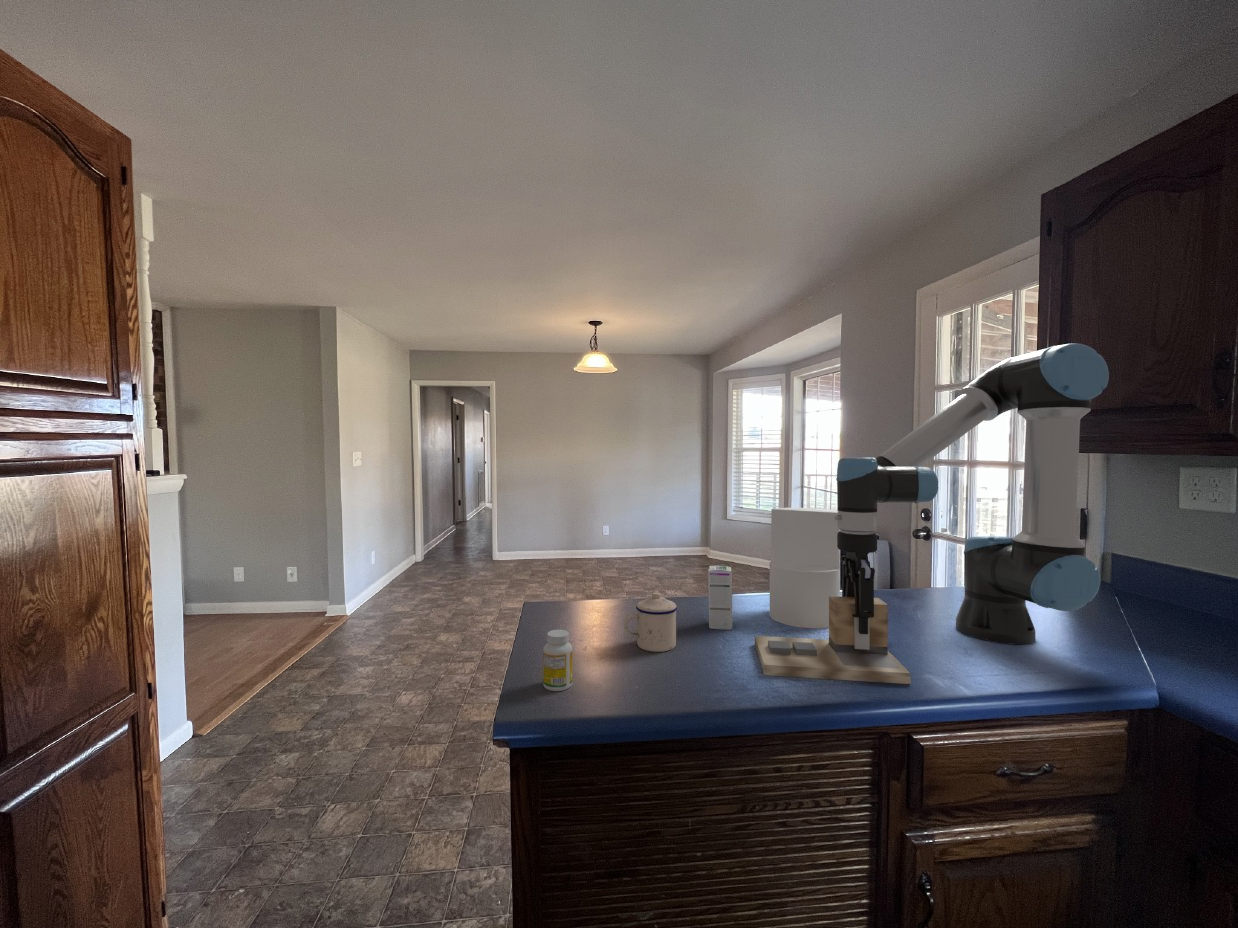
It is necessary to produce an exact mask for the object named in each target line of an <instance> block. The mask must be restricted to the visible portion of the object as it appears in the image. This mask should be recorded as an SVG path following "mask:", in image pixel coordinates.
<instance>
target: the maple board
mask: <svg viewBox="0 0 1238 928" xmlns="http://www.w3.org/2000/svg"><path fill="white" fill-rule="evenodd" d="M768 641H787V642H788V643H789V645H790V647H791V655H790V654H772V653H770V651H769V648H768ZM792 642H806V643H813V644H814V646H815V648H816V649H817V656H808V655H796V653H795V651H794V649H793V648H792ZM754 647H755V650H756V652H757V656H758V659H759V662H760V666H761V668H762V671H763V675H764V676H770V677H771V676H773V677H775V676H776V677H789V678H807V679H822V680H835V681H836V680H837V681H854V682H871V683H886V684H888V683H889V684H900V685H901V684H902V685H903V684H904V685H911V672H910V671H909V670H908V669H907V668H906V667H905V666H904V665H903V664H902V663H901V662H900V661H899V660H898V659H897V658H896V657H895V656H894V655H893V654H892V653H891V652H889V650H888V654H871V653H852V652H835V650H834V649H833V648H832V646H831V645H830V644H829V639H825V638H807V637H806V638H803V637H786V636H785V637H784V636H783V637H780V636H765V635H764V636H762V635H754Z"/></svg>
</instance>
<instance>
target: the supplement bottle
mask: <svg viewBox="0 0 1238 928" xmlns="http://www.w3.org/2000/svg"><path fill="white" fill-rule="evenodd" d="M569 640H570V633H569V631H567V630H565V629H552V630H550V631H548V632H547V633H546V641H547V643H546V644H545V645H543V649H542V650H543V653H542V654H543V655H542V656H543V657H542V661H543V662H542V663H543V665H542V669H543V670H542V674H543V675H542V677H543V682H542V683H543V688H544V689H546V690H548V691H551V692H560V691H561V692H562V691H566V690H567V689H569V688H570V687H572V686H573V645H572V644H571V643H570V642H569Z"/></svg>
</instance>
